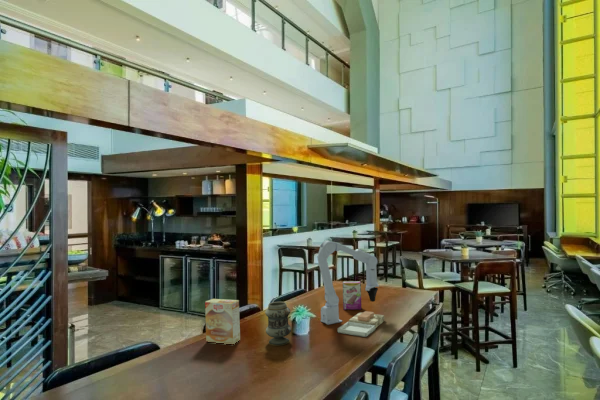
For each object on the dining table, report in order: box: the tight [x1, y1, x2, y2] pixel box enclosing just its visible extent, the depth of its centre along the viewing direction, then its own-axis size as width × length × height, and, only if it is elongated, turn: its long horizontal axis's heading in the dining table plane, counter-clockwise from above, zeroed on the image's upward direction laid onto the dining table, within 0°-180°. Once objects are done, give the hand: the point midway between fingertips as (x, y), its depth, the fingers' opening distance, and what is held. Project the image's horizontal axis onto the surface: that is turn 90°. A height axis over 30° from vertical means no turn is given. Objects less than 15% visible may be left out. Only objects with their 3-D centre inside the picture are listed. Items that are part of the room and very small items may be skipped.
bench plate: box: [348, 311, 385, 329], centre depth 196 cm, size 15×14×3 cm
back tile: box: [361, 310, 375, 318], centre depth 198 cm, size 5×5×2 cm
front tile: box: [358, 314, 370, 321], centre depth 193 cm, size 5×5×2 cm
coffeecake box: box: [204, 298, 241, 345], centre depth 177 cm, size 15×7×20 cm, turn 70°
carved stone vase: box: [264, 301, 292, 347], centre depth 173 cm, size 12×12×18 cm
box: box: [337, 321, 376, 338], centre depth 184 cm, size 13×15×2 cm
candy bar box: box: [342, 280, 362, 311], centre depth 226 cm, size 11×5×16 cm, turn 84°
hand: (372, 301), depth 205 cm, fingers closed
